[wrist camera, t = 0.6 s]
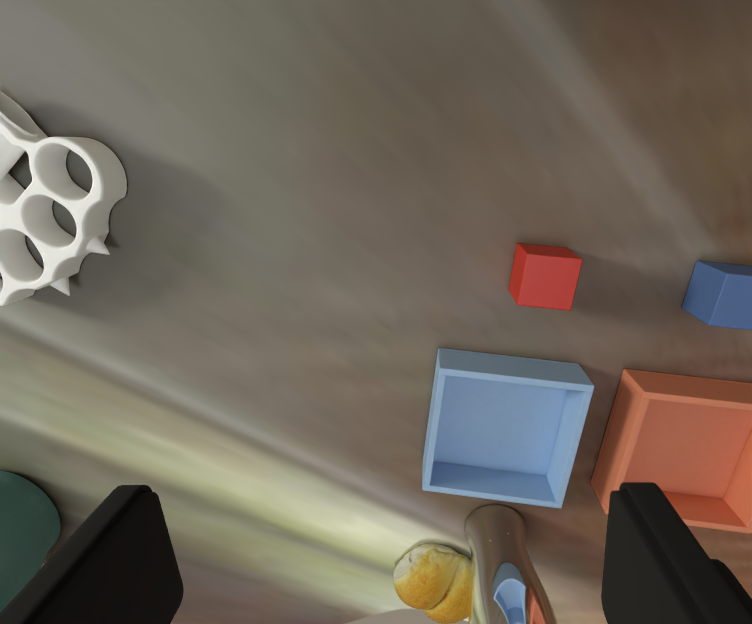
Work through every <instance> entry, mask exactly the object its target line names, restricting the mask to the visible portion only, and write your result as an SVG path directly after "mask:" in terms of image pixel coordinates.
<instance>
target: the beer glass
mask: <svg viewBox="0 0 752 624" xmlns="http://www.w3.org/2000/svg"><path fill="white" fill-rule="evenodd" d="M464 531H465V536H466V540H467V542H468V545H469V548H470V552H471V557H472V571H471V582H470V593H469V614H468V616H469V624H557V621H556V618H555V614H554V611H553V608H552V606H551V603H550V601H549V599H548V596H547V594H546V592H545V590H544V587H543V585H542V583H541V581H540V579H539V577H538V575H537V573H536V571H535V569H534V567H533V564H532V562H531V560H530V557H529V554H528V550H527V537H526V526H525V522H524V520H523V519H522V517H521V516H520V515H519V514H518V513H517V512H516V511H515V510H513V509H511V508H509V507H507V506H503V505H486V506H483V507H480V508H478V509H476V510H475V511H473V512H472V513H471V514H470V515H469V516H468V518H467V519H466V522H465V526H464Z"/></svg>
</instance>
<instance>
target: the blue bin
mask: <svg viewBox="0 0 752 624" xmlns="http://www.w3.org/2000/svg"><path fill="white" fill-rule="evenodd" d="M593 389H594V385H593V383H592V382H591V380H590V379H589V378H588V376H587V375H586V373H585V372H584V371H583V369H582V368H581V367H580V365H579V364H578V363H569V362H560V361H551V360H542V359H533V358H525V357H516V356H507V355H498V354H489V353H480V352H472V351H463V350H454V349H445V348H438V354H437V361H436V368H435V376H434V383H433V390H432V397H431V405H430V412H429V419H428V426H427V434H426V441H425V448H424V455H423V490H426V491H433V492H441V493H449V494H456V495H464V496H471V497H479V498H486V499H494V500H501V501H509V502H516V503H524V504H531V505H539V506H546V507H554V508H561V507H562V504H563V500H564V496H565V493H566V489H567V485H568V481H569V478H570V474H571V470H572V467H573V463H574V459H575V456H576V452H577V448H578V445H579V441H580V437H581V434H582V430H583V426H584V423H585V419H586V415H587V412H588V408H589V404H590V400H591V397H592V392H593Z"/></svg>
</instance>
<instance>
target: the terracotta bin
mask: <svg viewBox="0 0 752 624" xmlns="http://www.w3.org/2000/svg"><path fill="white" fill-rule="evenodd" d="M623 482H653V483H656V484H657V485H658V486H659V487H660V489H661V490H662V492H663V493H664V494H665V496H666V497H667V499H668V500H669V502H670V503H671V504H672V506H673V507H674V509H675V510H676V511H677V513H678V514H679V516H680V517H681V519H682V520H683V521H684V523H685V524H686V525H690V526H697V527H705V528H712V529H720V530H727V531H735V532H742V533H750V534H751V533H752V383H746V382H737V381H728V380H719V379H710V378H702V377H693V376H684V375H675V374H666V373H657V372H649V371H640V370H631V369H623V373H622V376H621V380H620V383H619V387H618V390H617V393H616V397H615V400H614V404H613V407H612V411H611V414H610V417H609V421H608V424H607V428H606V431H605V435H604V438H603V441H602V445H601V448H600V452H599V455H598V459H597V462H596V465H595V469H594V472H593V476H592V479H591V485H592V487H593V489H594V491H595V493H596V495H597V497H598V499H599V501H600V503H601V505H602V507H603V509H604V511H605V513H606V514H607V515H608V512H609V500H610V493H611V491H613V490H619V487H620V485H621V483H623Z"/></svg>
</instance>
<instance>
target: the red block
mask: <svg viewBox="0 0 752 624" xmlns="http://www.w3.org/2000/svg"><path fill="white" fill-rule="evenodd" d="M582 261H583V260H582V259H581V258H580V257H579V256H577V255H576V254H574V253H573V252H572V251H570V250H569V249H568V248H562V247H552V246H541V245H531V244H521V243H517V247H516V252H515V257H514V263H513V268H512V273H511V279H510V284H509V291H510V293H511V295H512V297H513V298H514V300H515V302H516V303H517V305H521V306H531V307H540V308H550V309H559V310H568V311H570V310H571V307H572V303H573V298H574V294H575V290H576V286H577V282H578V277H579V273H580V269H581V265H582Z"/></svg>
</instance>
